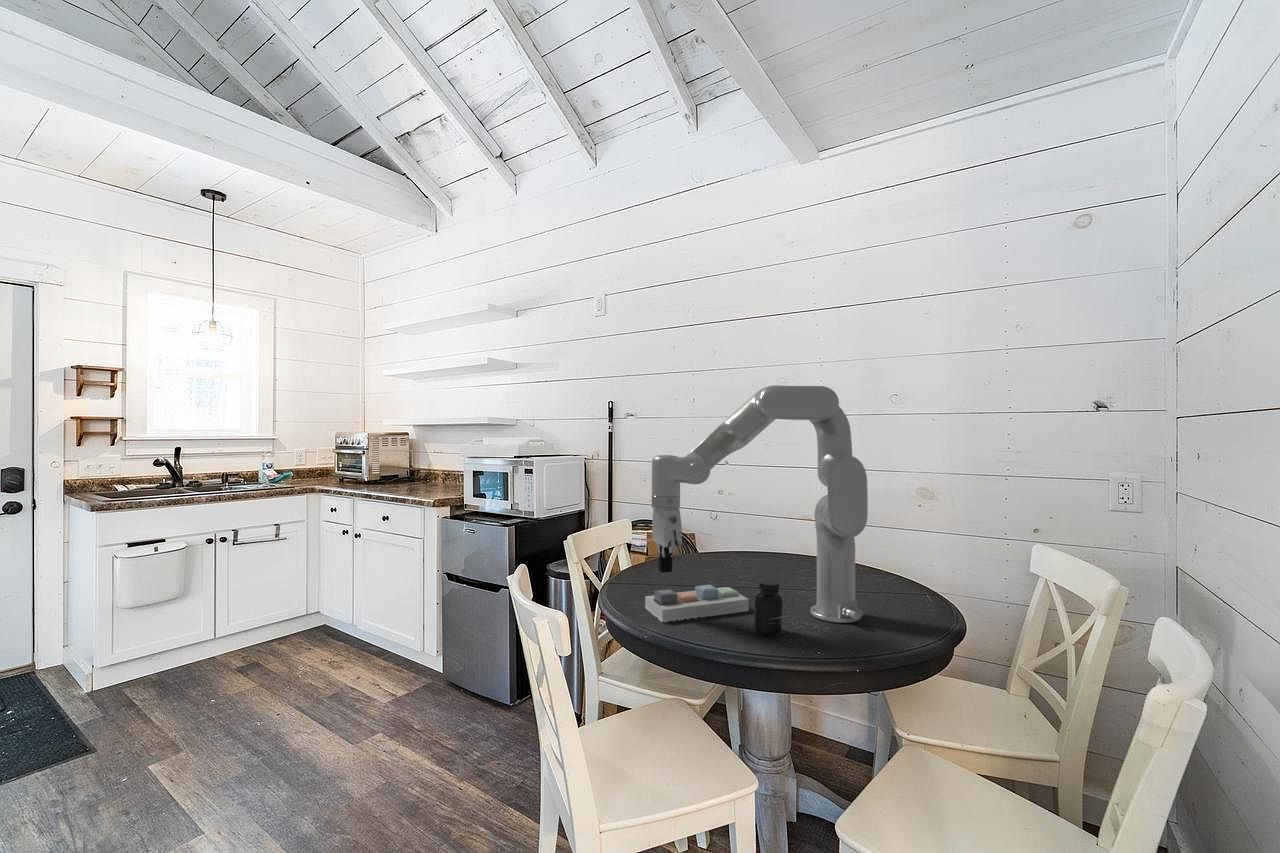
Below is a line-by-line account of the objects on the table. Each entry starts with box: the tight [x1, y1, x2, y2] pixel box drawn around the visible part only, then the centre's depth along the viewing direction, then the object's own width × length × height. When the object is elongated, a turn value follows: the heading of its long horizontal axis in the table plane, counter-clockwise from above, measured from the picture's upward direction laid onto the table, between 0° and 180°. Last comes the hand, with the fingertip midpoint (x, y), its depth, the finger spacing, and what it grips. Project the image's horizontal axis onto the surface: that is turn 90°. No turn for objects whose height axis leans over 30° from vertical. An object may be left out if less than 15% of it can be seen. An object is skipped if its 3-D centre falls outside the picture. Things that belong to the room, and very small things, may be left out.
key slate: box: [694, 584, 718, 601], centre depth 156 cm, size 5×5×3 cm
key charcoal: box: [653, 588, 678, 606], centre depth 152 cm, size 5×5×3 cm
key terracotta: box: [676, 591, 698, 603], centre depth 154 cm, size 5×5×3 cm
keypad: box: [644, 586, 750, 623], centre depth 155 cm, size 12×25×3 cm, turn 110°
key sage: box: [717, 586, 739, 598], centre depth 158 cm, size 5×5×3 cm
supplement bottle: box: [753, 579, 784, 638], centre depth 138 cm, size 7×7×12 cm
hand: (665, 571), depth 152 cm, fingers closed
